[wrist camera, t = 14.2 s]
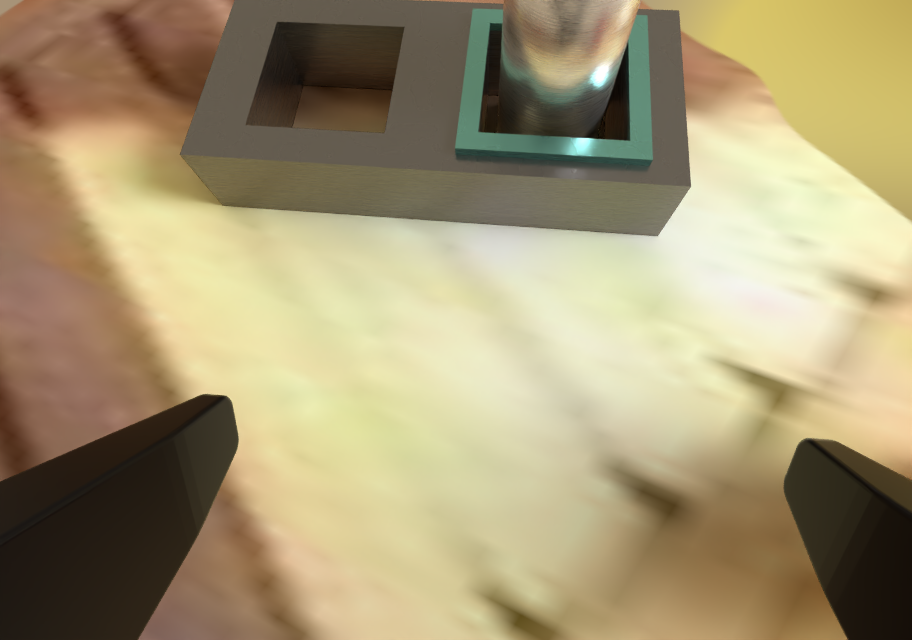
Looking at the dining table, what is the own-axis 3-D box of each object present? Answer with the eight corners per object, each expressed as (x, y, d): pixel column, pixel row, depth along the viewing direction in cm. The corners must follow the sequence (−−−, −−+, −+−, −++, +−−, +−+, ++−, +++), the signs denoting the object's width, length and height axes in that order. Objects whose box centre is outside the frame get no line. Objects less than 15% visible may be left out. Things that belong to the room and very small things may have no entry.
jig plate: (222, 205, 26) (174, 148, 22) (267, 59, 29) (233, -14, 25) (657, 235, 24) (694, 180, 20) (651, 77, 28) (682, 2, 24)
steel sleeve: (524, 200, 25) (568, -85, 13) (479, 130, 27) (482, -182, 15) (609, 162, 26) (728, -144, 14) (561, 96, 28) (628, -231, 15)
